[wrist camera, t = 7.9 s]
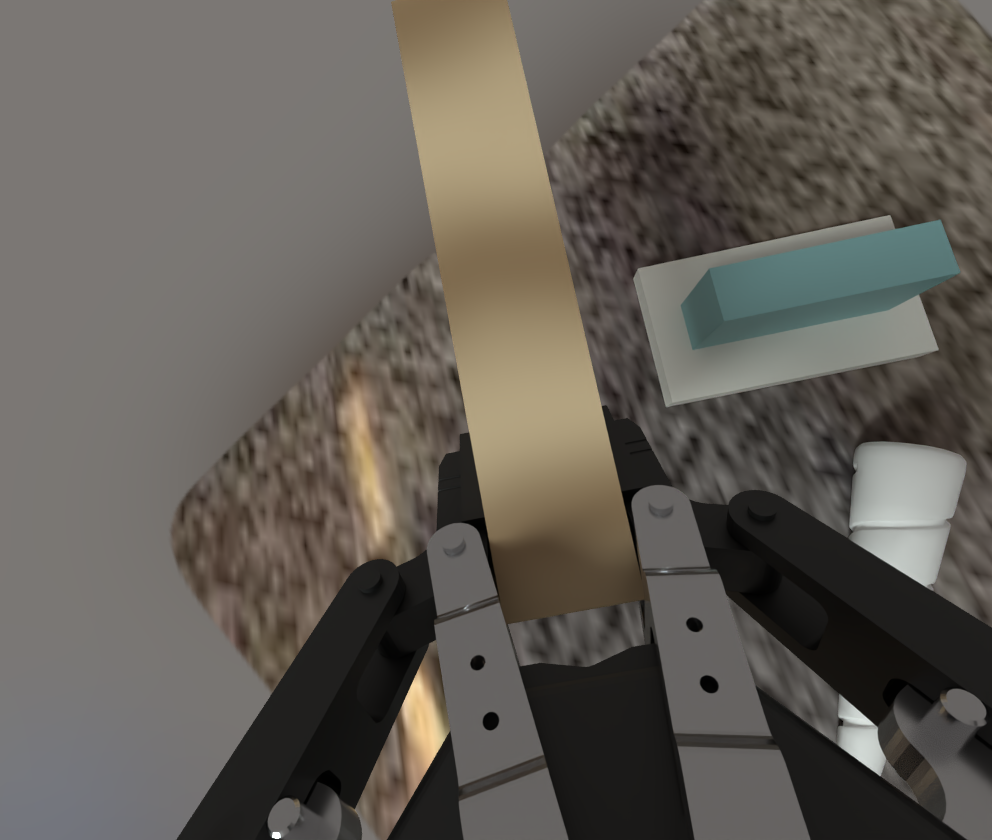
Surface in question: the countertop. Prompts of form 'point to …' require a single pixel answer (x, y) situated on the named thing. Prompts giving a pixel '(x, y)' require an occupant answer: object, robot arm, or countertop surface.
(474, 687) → the robot arm
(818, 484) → the countertop surface
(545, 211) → the wooden beam
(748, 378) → the ridge stand
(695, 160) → the countertop surface
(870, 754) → the unicorn horn
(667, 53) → the countertop surface
